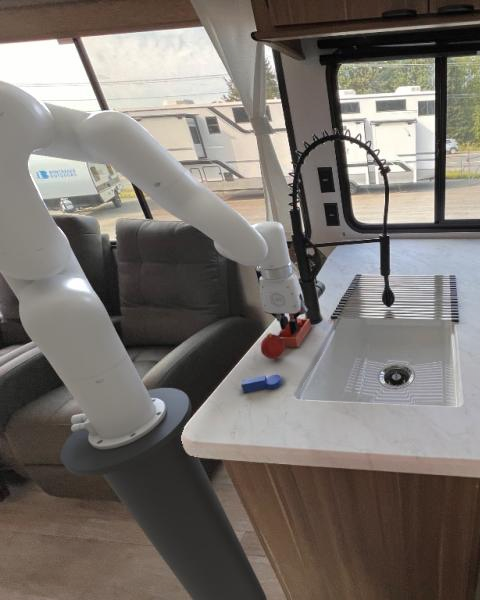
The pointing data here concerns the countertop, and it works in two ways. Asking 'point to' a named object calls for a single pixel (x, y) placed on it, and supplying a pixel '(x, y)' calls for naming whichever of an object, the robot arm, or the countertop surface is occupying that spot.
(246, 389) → the blue spoon
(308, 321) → the red tub
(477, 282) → the countertop surface
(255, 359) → the countertop surface
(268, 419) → the countertop surface
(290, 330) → the red spoon
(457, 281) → the countertop surface
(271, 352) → the onion
